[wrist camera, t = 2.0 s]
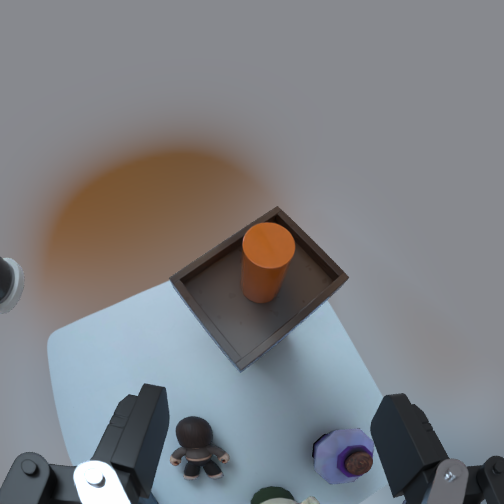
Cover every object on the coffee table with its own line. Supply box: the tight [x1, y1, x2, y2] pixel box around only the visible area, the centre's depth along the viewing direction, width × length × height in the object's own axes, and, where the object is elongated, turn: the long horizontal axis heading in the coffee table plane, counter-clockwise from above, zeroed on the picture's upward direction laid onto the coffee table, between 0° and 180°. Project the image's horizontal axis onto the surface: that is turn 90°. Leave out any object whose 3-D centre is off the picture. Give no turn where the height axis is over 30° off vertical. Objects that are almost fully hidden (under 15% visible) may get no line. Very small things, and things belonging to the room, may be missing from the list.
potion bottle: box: [312, 428, 374, 484], centre depth 29 cm, size 9×9×12 cm
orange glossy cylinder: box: [240, 222, 295, 303], centre depth 25 cm, size 4×4×8 cm
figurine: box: [170, 416, 229, 480], centre depth 32 cm, size 8×5×10 cm
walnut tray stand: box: [169, 206, 349, 373], centre depth 36 cm, size 14×11×18 cm
